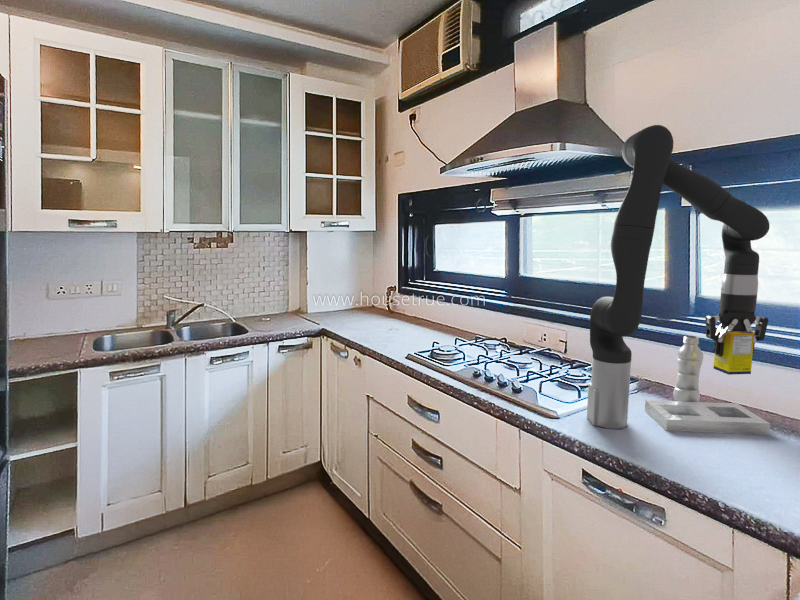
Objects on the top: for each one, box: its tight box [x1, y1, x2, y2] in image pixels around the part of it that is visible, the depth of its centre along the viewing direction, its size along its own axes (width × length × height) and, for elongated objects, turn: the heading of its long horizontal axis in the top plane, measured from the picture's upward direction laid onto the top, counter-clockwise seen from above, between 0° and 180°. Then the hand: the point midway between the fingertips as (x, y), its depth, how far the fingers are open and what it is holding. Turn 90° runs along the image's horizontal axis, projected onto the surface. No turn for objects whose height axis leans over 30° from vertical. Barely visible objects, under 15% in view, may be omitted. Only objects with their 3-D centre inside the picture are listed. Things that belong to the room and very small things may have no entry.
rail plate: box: [644, 399, 771, 436], centre depth 125 cm, size 24×14×3 cm, turn 83°
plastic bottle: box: [672, 335, 704, 402], centre depth 138 cm, size 6×7×20 cm
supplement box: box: [713, 329, 755, 376], centre depth 122 cm, size 6×6×11 cm
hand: (732, 355), depth 122 cm, fingers closed on supplement box, 6 cm apart
